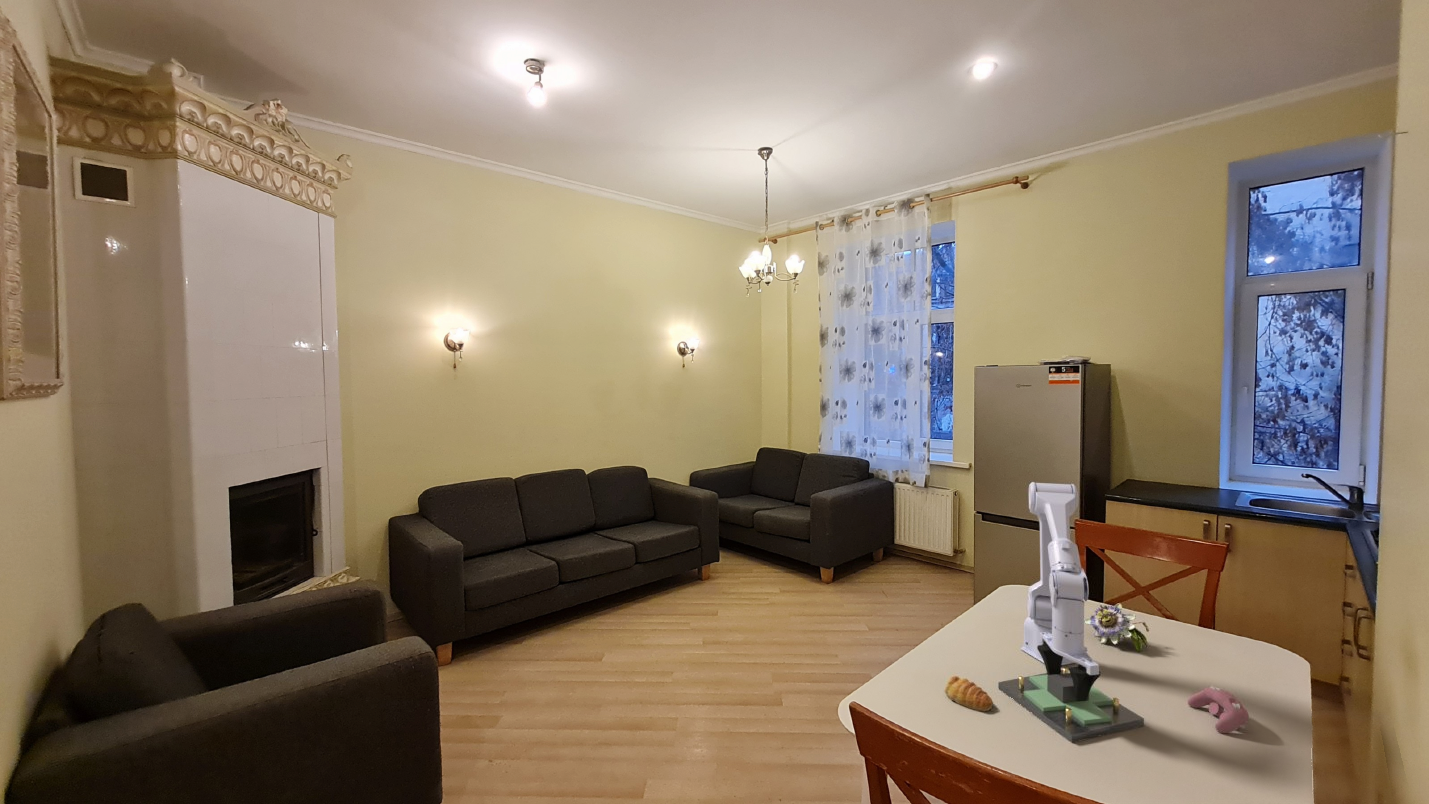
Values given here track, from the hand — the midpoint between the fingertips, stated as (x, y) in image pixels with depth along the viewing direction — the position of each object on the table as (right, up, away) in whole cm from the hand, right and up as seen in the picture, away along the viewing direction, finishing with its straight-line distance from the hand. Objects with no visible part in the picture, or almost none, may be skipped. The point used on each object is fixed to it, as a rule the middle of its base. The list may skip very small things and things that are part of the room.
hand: (1067, 689), depth 118 cm
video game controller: (+27, -4, -5) cm, 28 cm away
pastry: (-20, -4, +4) cm, 20 cm away
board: (0, -2, 0) cm, 2 cm away
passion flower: (+30, -2, +27) cm, 41 cm away
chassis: (0, -4, 0) cm, 4 cm away
